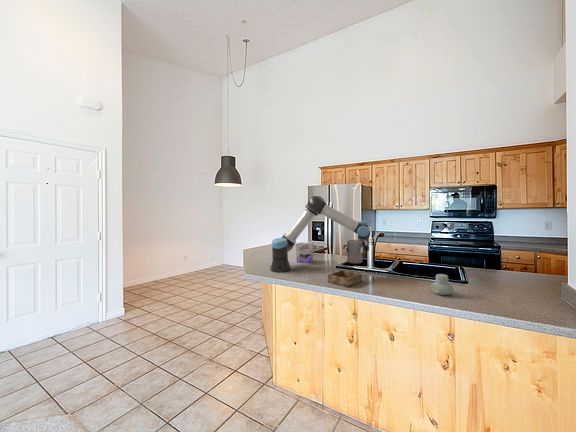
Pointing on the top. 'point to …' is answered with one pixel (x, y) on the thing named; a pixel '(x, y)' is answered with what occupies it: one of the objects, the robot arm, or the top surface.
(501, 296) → the top surface
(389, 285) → the top surface
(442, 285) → the air freshener
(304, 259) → the candy box
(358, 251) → the pillar candle
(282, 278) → the top surface
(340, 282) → the walnut crate
